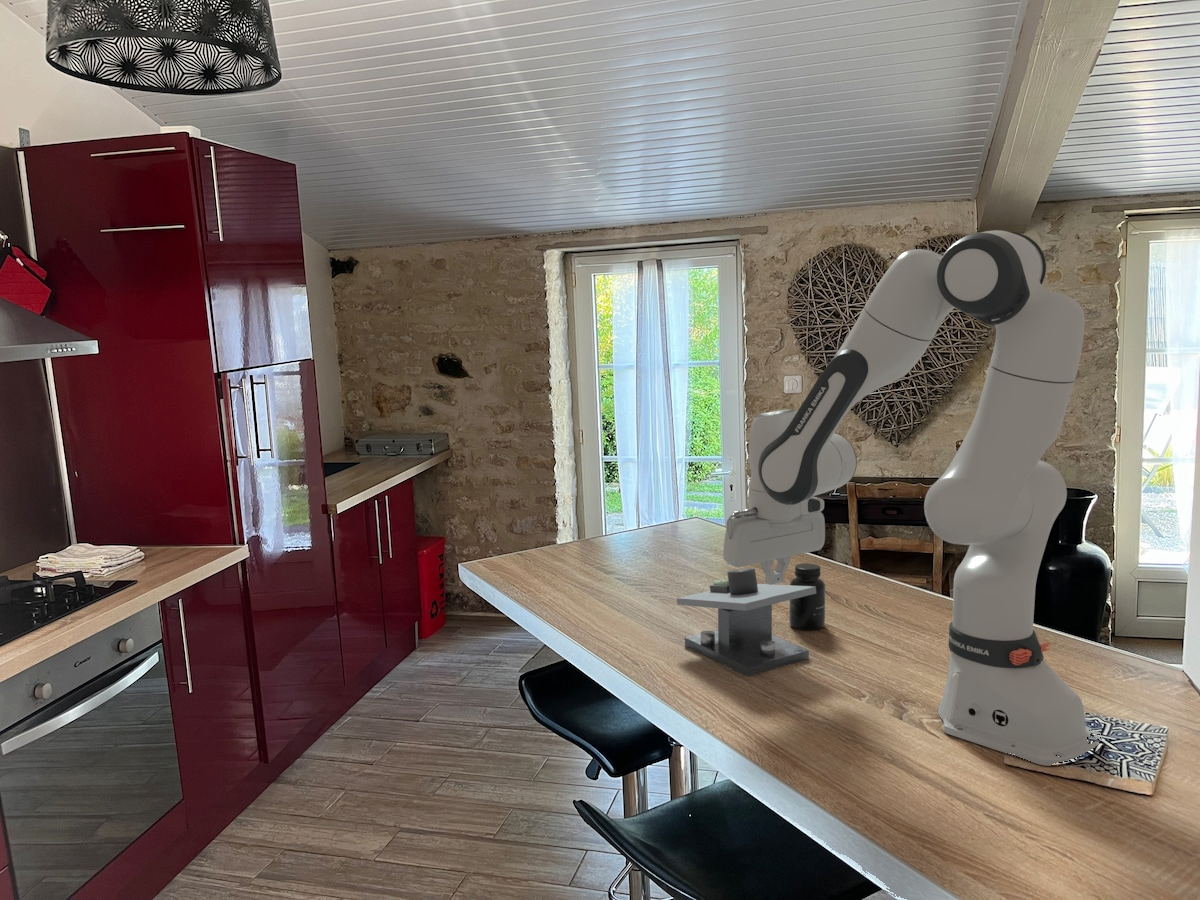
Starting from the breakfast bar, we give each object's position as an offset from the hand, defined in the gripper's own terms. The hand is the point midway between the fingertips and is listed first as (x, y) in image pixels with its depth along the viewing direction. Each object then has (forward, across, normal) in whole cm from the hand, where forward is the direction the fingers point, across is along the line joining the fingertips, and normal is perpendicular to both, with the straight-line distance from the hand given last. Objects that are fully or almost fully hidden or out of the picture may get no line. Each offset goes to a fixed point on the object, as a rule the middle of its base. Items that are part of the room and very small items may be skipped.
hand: (774, 582), depth 161 cm
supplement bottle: (+15, +19, +12) cm, 27 cm away
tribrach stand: (+15, 0, +8) cm, 17 cm away
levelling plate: (+5, 0, +8) cm, 9 cm away
